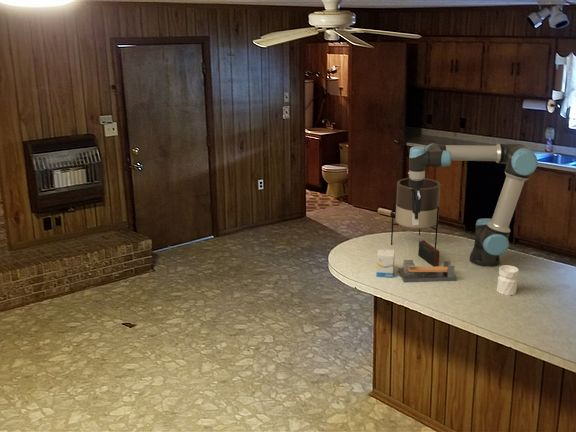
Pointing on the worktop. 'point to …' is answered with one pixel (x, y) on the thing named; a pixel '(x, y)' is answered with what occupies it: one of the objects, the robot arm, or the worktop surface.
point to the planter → (427, 210)
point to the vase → (507, 279)
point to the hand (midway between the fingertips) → (415, 224)
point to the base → (430, 275)
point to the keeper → (405, 267)
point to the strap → (427, 269)
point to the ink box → (385, 263)
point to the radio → (428, 253)
